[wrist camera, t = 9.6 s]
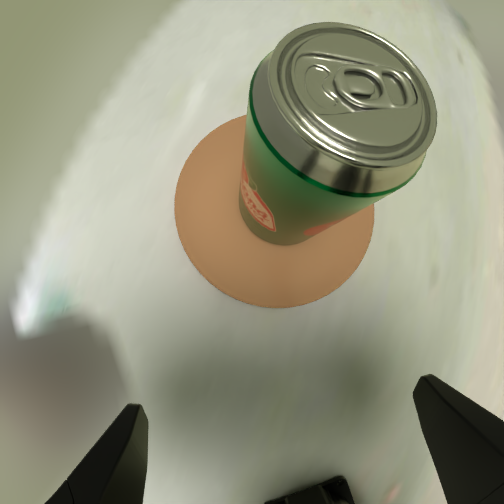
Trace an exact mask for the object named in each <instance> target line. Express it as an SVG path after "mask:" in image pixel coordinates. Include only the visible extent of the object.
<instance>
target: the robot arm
mask: <svg viewBox="0 0 504 504" xmlns="http://www.w3.org/2000/svg"><path fill="white" fill-rule="evenodd" d="M413 399H414V403H415V406H416V410H417V413H418V417H419V421H420V425H421V428H422V432H423V435H424V438H425V440H426V443H427V445H428V448H429V451H430V454H431V456H432V459H433V462H434V465H435V467H436V470H437V473H438V476H439V479H440V482H441V485H442V488H443V491H444V494H445V497H446V500H447V503H448V504H504V422H503V420H501V419H500V418H498V417H497V416H495V415H494V414H492V413H491V412H489V411H488V410H486V409H484V408H483V407H481V406H480V405H478V404H477V403H475V402H474V401H472V400H471V399H469V398H468V397H466V396H465V395H463V394H462V393H460V392H458V391H457V390H455V389H454V388H452V387H451V386H449V385H448V384H446V383H445V382H443V381H442V380H440V379H439V378H437V377H436V376H434V375H432V374H428V375H424V376H421V377H420V379H419V381H418V383H417V385H416V387H415V389H414V391H413ZM147 461H148V419H147V416H146V414H145V412H144V409H143V407H142V405H141V404H132V403H130V404H127V405H126V407H125V408H124V409H123V410H122V411H121V413H120V414H119V415H118V416H117V418H116V419H115V420H114V421H113V423H112V424H111V425H110V426H109V427H108V429H107V430H106V431H105V432H104V434H103V435H102V436H101V437H100V438H99V440H98V441H97V442H96V443H95V445H94V446H93V447H92V448H91V449H90V451H89V452H88V453H87V454H86V456H85V457H84V458H83V459H82V461H81V462H80V463H79V464H78V465H77V467H76V468H75V469H74V470H73V472H72V473H71V474H70V475H69V476H68V478H67V480H65V481H64V482H63V484H62V485H61V486H60V487H59V488H58V490H57V491H56V492H55V493H54V494H53V495H52V497H51V498H50V499H49V500H48V501H47V502H46V503H45V504H143V496H144V488H145V481H146V473H147ZM339 481H341V482H340V483H338V482H339ZM265 504H355V503H354V500H353V497H352V495H351V492H350V489H349V486H348V483H347V480H346V479H345V477H343V476H338V477H336V478H333V479H331V480H328V481H326V482H324V483H321V484H319V485H316V486H313V487H311V488H308V489H306V490H303V491H300V492H297V493H294V494H292V495H289V496H286V497H283V498H280V499H276V500H273V501H270V502H267V503H265Z"/></svg>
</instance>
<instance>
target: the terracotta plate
mask: <svg viewBox="0 0 504 504" xmlns="http://www.w3.org/2000/svg"><path fill="white" fill-rule="evenodd" d="M246 117H247V115H244V116H241V117H238V118H235V119H233V120H230V121H228V122H226V123H224V124H223V125H221V126H219V127H218V128H216V129H215V130H213V131H212V132H210V133H209V134H208V135H207V136H206V137H205V138H204V139H203V140H201V141H200V143H199V144H198V145H197V146H196V147H195V148H194V150H193V151H192V153H191V154H190V156H189V157H188V159H187V160H186V162H185V164H184V166H183V169H182V171H181V173H180V176H179V180H178V183H177V187H176V193H175V220H176V226H177V230H178V234H179V237H180V240H181V242H182V245H183V247H184V250H185V252H186V253H187V255H188V257H189V258H190V260H191V262H192V263H193V265H194V266H195V267H196V268H197V270H198V271H199V272H200V273H201V274H202V275H203V276H204V277H205V278H206V279H207V280H208V281H209V282H210V283H211V284H212V285H214V286H215V287H216V288H218V289H219V290H221V291H222V292H224V293H225V294H227V295H229V296H231V297H233V298H235V299H237V300H240V301H242V302H245V303H248V304H252V305H256V306H261V307H270V308H287V307H294V306H300V305H304V304H307V303H310V302H313V301H316V300H318V299H320V298H322V297H324V296H326V295H328V294H330V293H331V292H332V291H334V290H335V289H337V288H338V287H340V286H341V285H342V284H343V283H344V282H345V281H346V280H347V279H348V278H349V277H350V276H351V275H352V273H353V272H354V271H355V270H356V269H357V267H358V265H359V264H360V262H361V261H362V259H363V257H364V255H365V253H366V251H367V248H368V246H369V243H370V239H371V236H372V231H373V225H374V203H373V204H371V205H370V206H368V207H366V208H364V209H362V210H360V211H359V212H357V213H355V214H353V215H351V216H350V217H348V218H346V219H344V220H342V221H341V222H339V223H337V224H335V225H333V226H331V227H330V228H328V229H326V230H324V231H322V232H320V233H319V234H317V235H315V236H313V237H311V238H309V239H308V240H306V241H304V242H301V243H299V244H294V245H285V246H283V245H276V244H272V243H269V242H267V241H264V240H262V239H261V238H259V237H258V236H256V235H255V234H254V233H253V232H252V231H251V230H250V229H249V228H248V226H247V225H246V223H245V222H244V220H243V218H242V215H241V213H240V209H239V187H240V177H241V166H242V156H243V146H244V136H245V126H246Z"/></svg>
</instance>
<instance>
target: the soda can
mask: <svg viewBox="0 0 504 504" xmlns="http://www.w3.org/2000/svg"><path fill="white" fill-rule="evenodd" d="M436 126H437V110H436V105H435V100H434V97H433V94H432V91H431V89H430V87H429V85H428V83H427V81H426V79H425V78H424V76H423V75H422V73H421V71H420V70H419V69H418V68H417V66H416V65H415V64H414V63H413V61H412V60H411V59H410V58H409V57H408V56H407V55H406V54H405V53H404V52H402V51H401V50H400V49H399V48H397V47H396V46H395V45H394V44H392V43H391V42H389V41H388V40H386V39H385V38H383V37H381V36H379V35H377V34H375V33H373V32H371V31H368V30H366V29H363V28H360V27H357V26H353V25H350V24H344V23H336V22H322V23H313V24H309V25H305V26H302V27H300V28H298V29H295V30H294V31H292V32H290V33H289V34H287V35H286V36H285V37H284V38H283V39H282V40H281V41H280V42H279V43H278V45H277V46H276V48H275V49H274V50H273V51H272V52H270V53H269V54H268V55H267V56H266V57H265V58H264V59H263V60H262V61H261V62H260V64H259V65H258V67H257V69H256V70H255V72H254V75H253V77H252V80H251V83H250V90H249V98H248V107H247V117H246V126H245V136H244V146H243V156H242V166H241V177H240V187H239V209H240V213H241V215H242V218H243V220H244V222H245V223H246V225H247V226H248V228H249V229H250V230H251V231H252V232H253V233H254V234H255V235H256V236H258V237H259V238H261V239H262V240H264V241H267V242H269V243H272V244H276V245H283V246H285V245H294V244H299V243H301V242H304V241H306V240H308V239H309V238H311V237H313V236H315V235H317V234H319V233H320V232H322V231H324V230H326V229H328V228H330V227H331V226H333V225H335V224H337V223H339V222H341V221H342V220H344V219H346V218H348V217H350V216H351V215H353V214H355V213H357V212H359V211H360V210H362V209H364V208H366V207H368V206H370V205H371V204H373V203H375V202H377V201H379V200H380V199H382V198H384V197H386V196H387V195H389V194H391V193H393V192H395V191H396V190H398V189H400V188H401V187H403V186H405V185H406V184H407V183H408V182H409V181H410V180H411V179H412V178H413V177H414V176H415V175H416V173H417V172H418V171H419V169H420V168H421V166H422V163H423V161H424V159H425V156H426V151H427V149H428V147H429V146H430V144H431V143H432V140H433V138H434V135H435V132H436Z"/></svg>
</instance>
